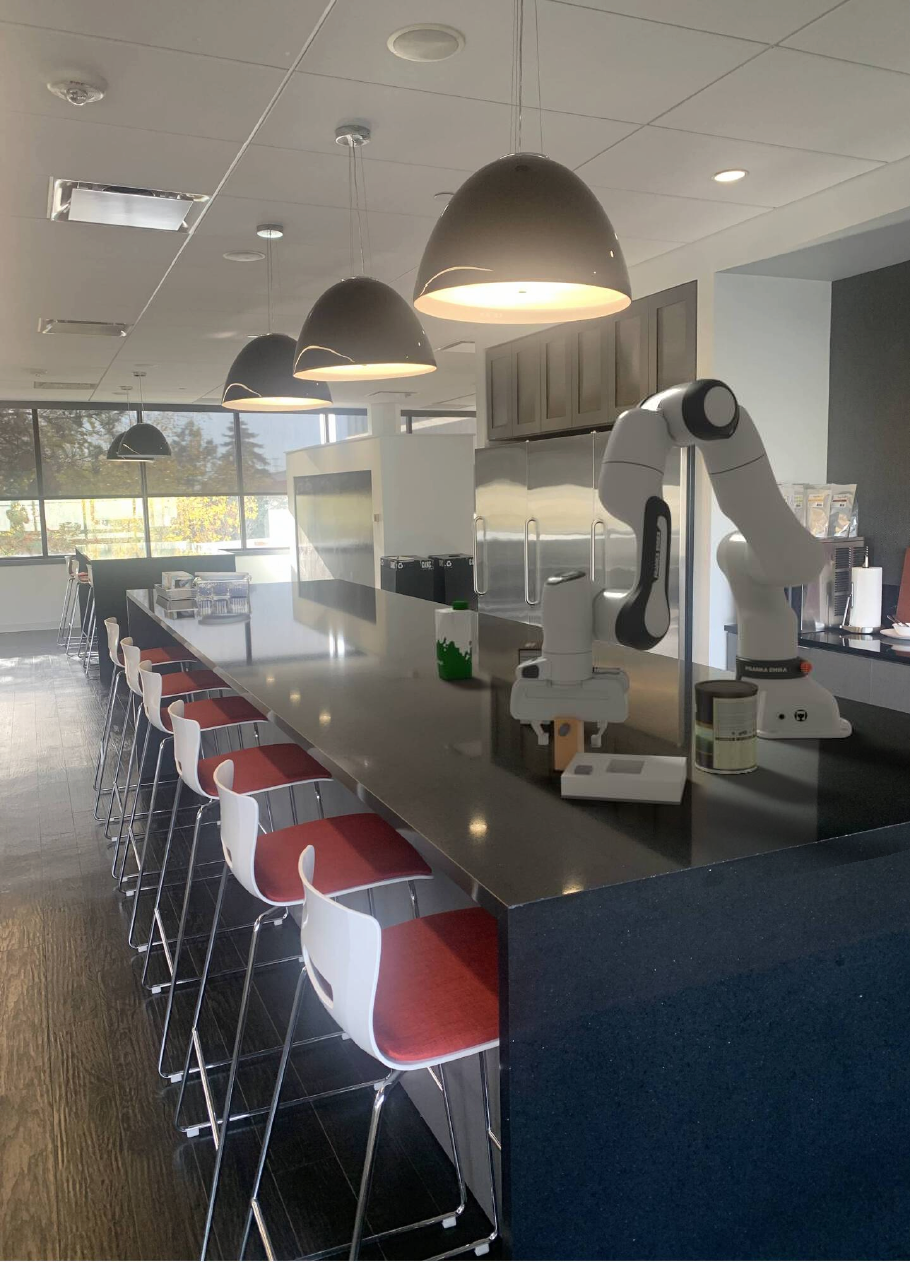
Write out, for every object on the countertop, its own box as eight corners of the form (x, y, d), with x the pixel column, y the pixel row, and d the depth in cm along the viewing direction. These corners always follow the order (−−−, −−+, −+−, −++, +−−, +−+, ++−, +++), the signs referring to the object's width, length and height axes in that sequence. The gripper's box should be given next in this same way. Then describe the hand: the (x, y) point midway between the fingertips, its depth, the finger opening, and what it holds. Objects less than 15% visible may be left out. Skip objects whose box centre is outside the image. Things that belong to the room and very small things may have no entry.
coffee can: (684, 769, 160) (683, 687, 158) (710, 755, 168) (710, 677, 166) (742, 778, 153) (743, 693, 151) (767, 763, 161) (767, 682, 159)
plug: (584, 761, 167) (583, 711, 165) (575, 776, 158) (574, 723, 157) (561, 760, 168) (560, 710, 167) (551, 774, 159) (550, 722, 158)
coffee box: (525, 714, 205) (523, 641, 202) (554, 714, 203) (553, 640, 201) (519, 724, 196) (517, 647, 194) (550, 724, 194) (548, 647, 192)
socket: (686, 778, 155) (686, 753, 154) (680, 805, 141) (680, 778, 141) (577, 772, 160) (576, 748, 160) (561, 797, 147) (560, 772, 146)
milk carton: (476, 678, 248) (473, 602, 245) (443, 681, 245) (440, 604, 242) (466, 672, 256) (463, 599, 253) (434, 675, 254) (431, 601, 251)
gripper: (631, 664, 162) (632, 742, 164) (515, 662, 168) (517, 738, 170) (626, 671, 156) (627, 752, 158) (506, 669, 162) (508, 747, 164)
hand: (569, 745), depth 164 cm, fingers open, 8 cm apart
